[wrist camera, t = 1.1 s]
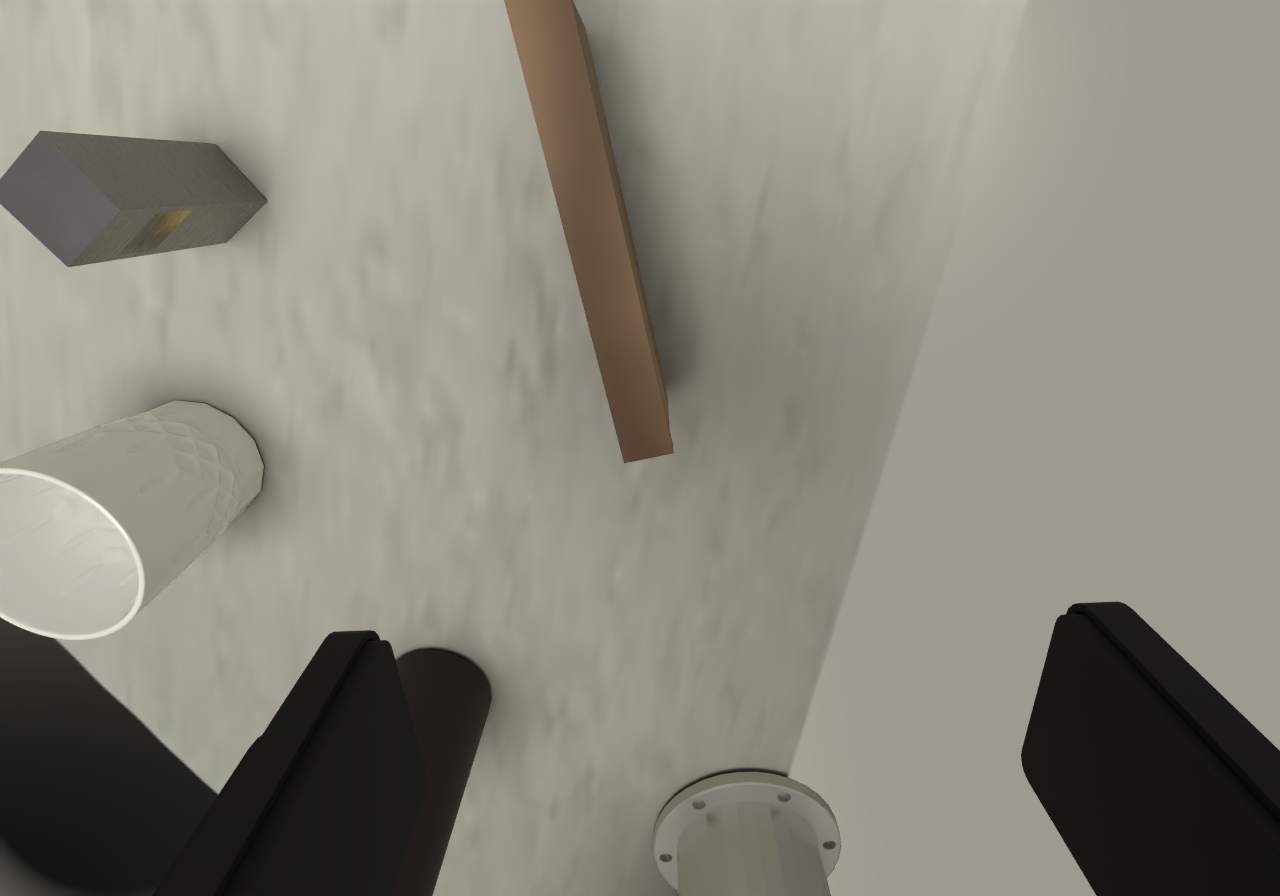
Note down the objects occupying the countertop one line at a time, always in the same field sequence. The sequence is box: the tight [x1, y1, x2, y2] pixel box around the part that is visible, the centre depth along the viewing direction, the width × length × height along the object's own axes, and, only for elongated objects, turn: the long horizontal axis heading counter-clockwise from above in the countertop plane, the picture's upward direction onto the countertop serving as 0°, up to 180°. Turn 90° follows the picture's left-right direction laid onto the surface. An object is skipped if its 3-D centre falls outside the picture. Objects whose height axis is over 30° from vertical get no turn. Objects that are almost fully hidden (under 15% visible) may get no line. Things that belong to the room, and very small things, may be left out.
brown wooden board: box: [504, 0, 674, 463], centre depth 26 cm, size 2×16×7 cm, turn 13°
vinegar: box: [390, 650, 491, 896], centre depth 32 cm, size 7×7×20 cm
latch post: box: [0, 131, 267, 267], centre depth 26 cm, size 3×3×9 cm
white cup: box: [0, 400, 264, 640], centre depth 30 cm, size 8×8×10 cm
